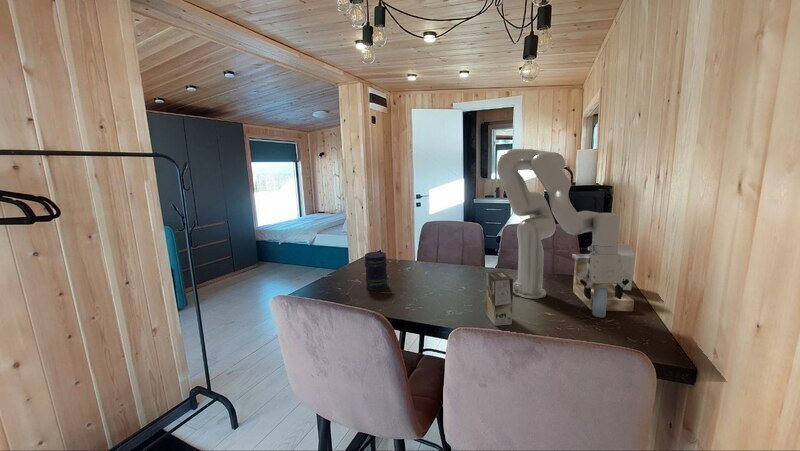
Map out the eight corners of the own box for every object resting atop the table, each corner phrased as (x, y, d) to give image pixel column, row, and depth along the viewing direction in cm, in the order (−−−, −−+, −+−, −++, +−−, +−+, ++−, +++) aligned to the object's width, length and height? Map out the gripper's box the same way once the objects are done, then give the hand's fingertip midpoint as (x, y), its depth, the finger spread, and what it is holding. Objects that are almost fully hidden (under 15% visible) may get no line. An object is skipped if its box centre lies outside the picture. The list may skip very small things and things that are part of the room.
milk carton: (631, 290, 137) (635, 246, 133) (612, 290, 138) (615, 245, 135) (623, 284, 143) (627, 242, 140) (605, 284, 145) (608, 241, 142)
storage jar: (389, 282, 157) (387, 251, 154) (386, 289, 147) (384, 257, 144) (368, 282, 158) (366, 251, 155) (364, 289, 148) (362, 257, 145)
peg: (595, 317, 115) (597, 290, 113) (590, 312, 119) (592, 285, 117) (607, 317, 114) (609, 290, 112) (602, 312, 118) (604, 286, 116)
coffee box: (512, 324, 111) (514, 279, 109) (494, 326, 111) (495, 280, 108) (502, 313, 120) (503, 270, 118) (485, 314, 120) (485, 271, 117)
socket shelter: (588, 309, 120) (591, 267, 118) (570, 290, 138) (572, 254, 136) (636, 311, 118) (640, 268, 115) (611, 291, 136) (614, 254, 133)
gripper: (581, 252, 110) (580, 301, 112) (639, 251, 107) (636, 302, 109) (573, 247, 117) (572, 294, 119) (626, 246, 114) (624, 294, 117)
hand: (602, 297), depth 114 cm, fingers open, 9 cm apart
